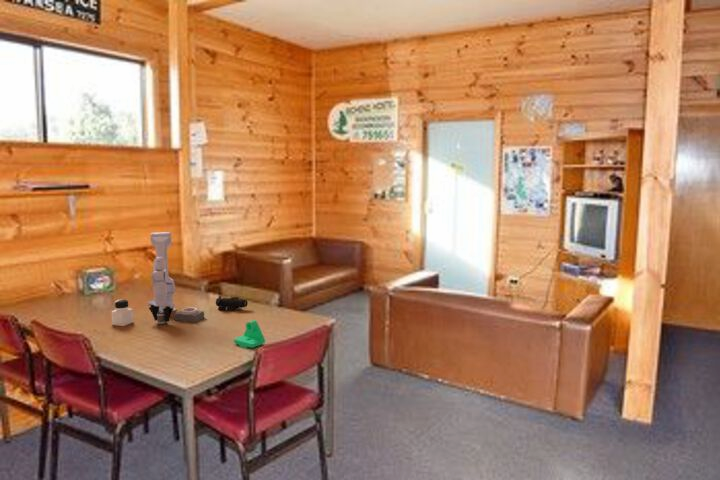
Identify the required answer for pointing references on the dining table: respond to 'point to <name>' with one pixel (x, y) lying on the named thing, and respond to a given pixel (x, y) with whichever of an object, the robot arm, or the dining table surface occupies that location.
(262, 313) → the dining table surface
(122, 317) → the medicine bottle
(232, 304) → the night vision scope
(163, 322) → the lens
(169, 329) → the dining table surface
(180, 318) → the camera body
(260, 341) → the camera mount
